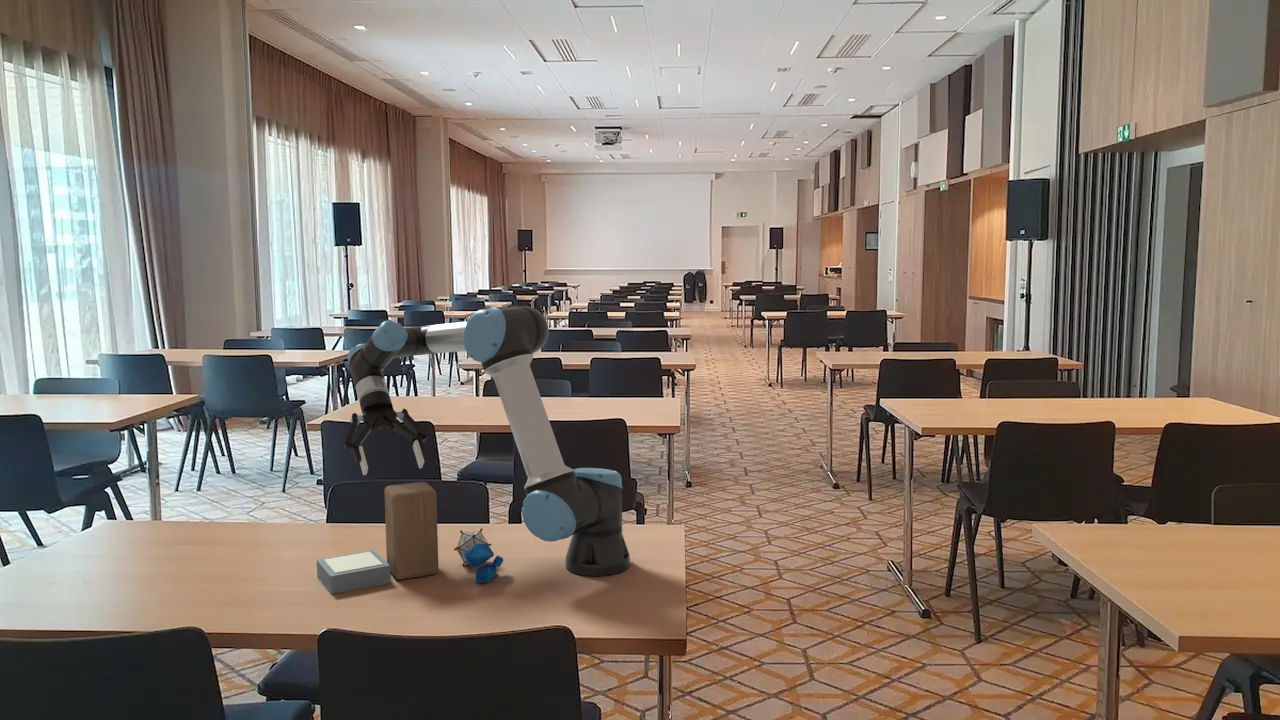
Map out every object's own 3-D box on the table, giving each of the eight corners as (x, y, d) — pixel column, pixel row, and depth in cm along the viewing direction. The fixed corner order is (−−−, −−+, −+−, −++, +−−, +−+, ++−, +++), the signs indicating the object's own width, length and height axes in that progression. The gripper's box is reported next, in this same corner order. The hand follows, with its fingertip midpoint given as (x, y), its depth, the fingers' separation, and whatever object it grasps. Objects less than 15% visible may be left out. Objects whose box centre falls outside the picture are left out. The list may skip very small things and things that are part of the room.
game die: (477, 580, 214) (480, 555, 208) (446, 565, 215) (448, 540, 209) (495, 552, 221) (499, 527, 214) (464, 538, 222) (467, 513, 215)
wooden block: (395, 582, 203) (392, 494, 201) (386, 568, 212) (383, 485, 209) (439, 574, 207) (437, 489, 205) (428, 562, 216) (426, 480, 214)
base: (390, 582, 202) (390, 564, 202) (331, 594, 195) (330, 575, 195) (374, 566, 213) (373, 549, 213) (317, 576, 206) (316, 559, 206)
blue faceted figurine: (510, 542, 209) (490, 546, 197) (507, 580, 208) (487, 586, 196) (480, 540, 211) (458, 543, 199) (477, 578, 210) (456, 584, 198)
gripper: (419, 403, 236) (440, 470, 225) (321, 411, 223) (338, 483, 212) (425, 385, 231) (447, 453, 220) (325, 393, 218) (343, 466, 207)
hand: (394, 468), depth 216 cm, fingers open, 13 cm apart
